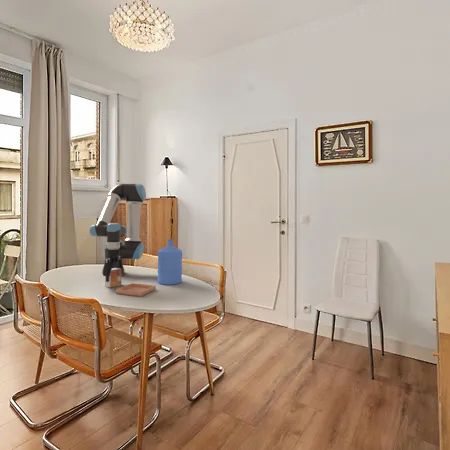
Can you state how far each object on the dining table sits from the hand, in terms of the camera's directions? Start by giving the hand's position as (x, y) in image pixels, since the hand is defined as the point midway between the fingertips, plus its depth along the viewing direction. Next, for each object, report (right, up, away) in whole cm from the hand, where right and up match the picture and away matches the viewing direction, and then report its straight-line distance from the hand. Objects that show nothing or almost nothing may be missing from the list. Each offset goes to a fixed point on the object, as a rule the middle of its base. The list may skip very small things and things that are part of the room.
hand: (113, 284), depth 201 cm
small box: (0, -1, 0) cm, 1 cm away
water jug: (+32, -1, +13) cm, 35 cm away
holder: (+17, -2, -12) cm, 21 cm away
